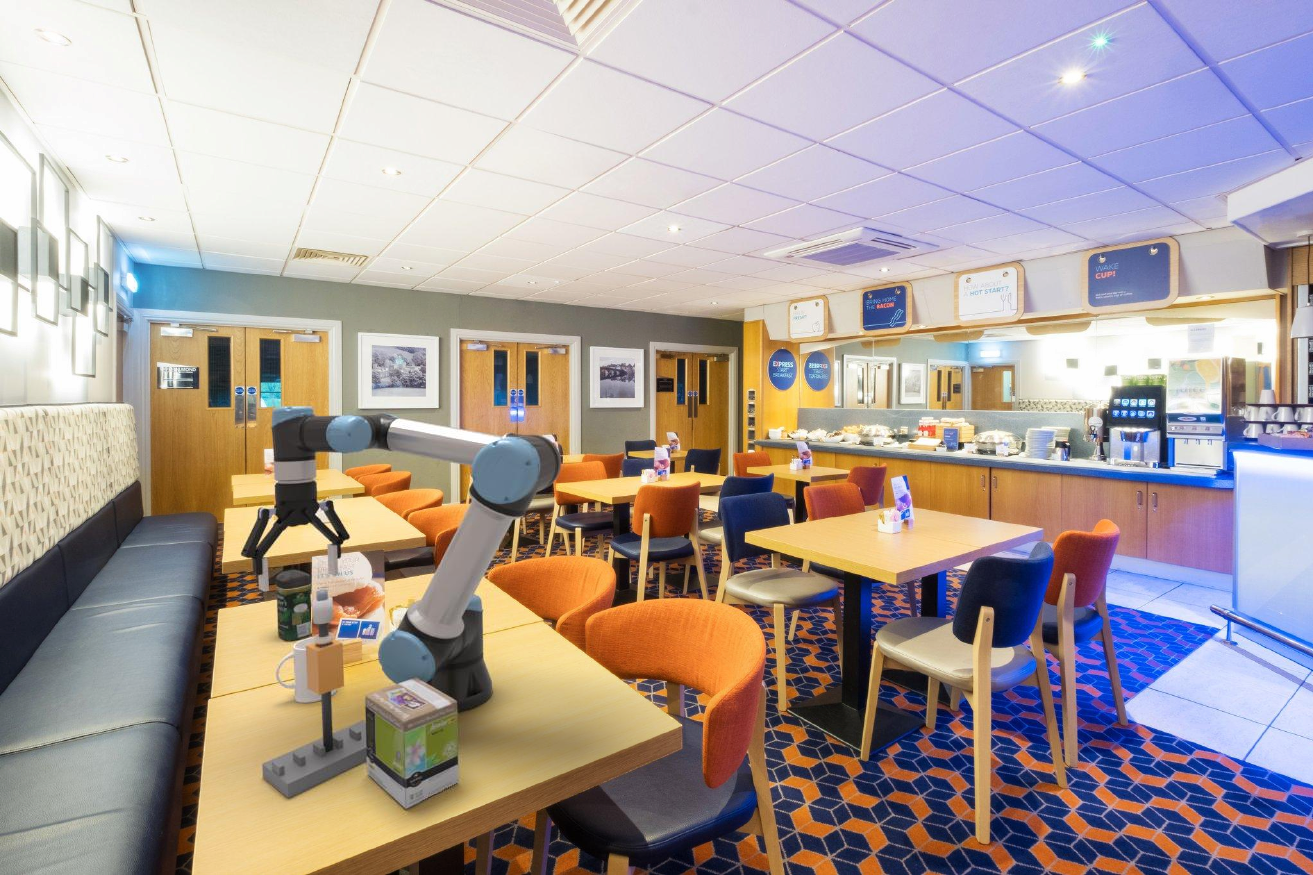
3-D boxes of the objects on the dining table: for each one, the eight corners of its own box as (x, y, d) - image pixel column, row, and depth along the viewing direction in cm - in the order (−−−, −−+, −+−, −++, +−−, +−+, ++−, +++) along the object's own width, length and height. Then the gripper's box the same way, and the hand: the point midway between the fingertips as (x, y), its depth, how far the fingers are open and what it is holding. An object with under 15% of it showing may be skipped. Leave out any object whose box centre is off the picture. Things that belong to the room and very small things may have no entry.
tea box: (461, 782, 106) (459, 699, 105) (404, 811, 98) (402, 722, 98) (419, 750, 116) (416, 674, 115) (365, 774, 108) (362, 693, 108)
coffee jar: (274, 635, 175) (271, 571, 173) (304, 627, 181) (301, 565, 180) (286, 644, 168) (283, 577, 167) (317, 635, 174) (314, 571, 173)
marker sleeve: (332, 679, 114) (330, 637, 114) (344, 685, 112) (342, 643, 111) (307, 688, 111) (305, 645, 110) (319, 695, 108) (317, 651, 108)
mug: (278, 711, 131) (275, 656, 130) (276, 696, 138) (273, 644, 137) (339, 696, 138) (337, 644, 137) (334, 682, 145) (332, 632, 144)
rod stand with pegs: (362, 732, 122) (357, 575, 120) (390, 749, 116) (384, 583, 115) (262, 777, 108) (254, 599, 106) (288, 798, 102) (279, 610, 100)
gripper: (347, 473, 139) (350, 566, 140) (218, 486, 119) (223, 593, 120) (364, 475, 134) (367, 571, 135) (233, 489, 114) (239, 600, 115)
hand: (300, 582), depth 128 cm, fingers open, 13 cm apart
